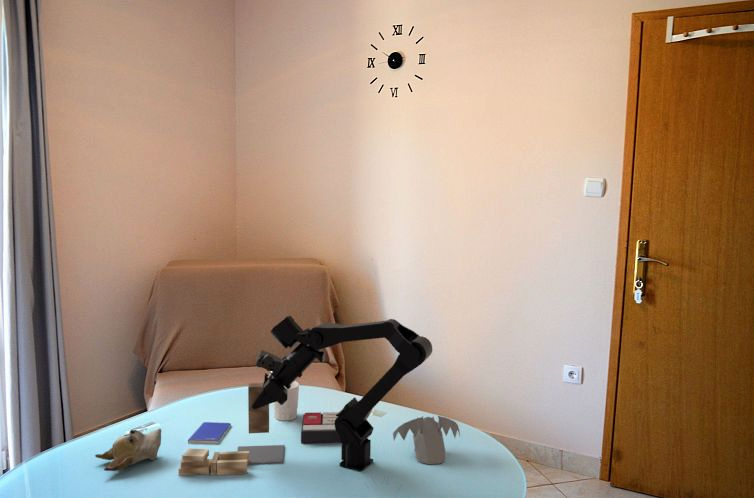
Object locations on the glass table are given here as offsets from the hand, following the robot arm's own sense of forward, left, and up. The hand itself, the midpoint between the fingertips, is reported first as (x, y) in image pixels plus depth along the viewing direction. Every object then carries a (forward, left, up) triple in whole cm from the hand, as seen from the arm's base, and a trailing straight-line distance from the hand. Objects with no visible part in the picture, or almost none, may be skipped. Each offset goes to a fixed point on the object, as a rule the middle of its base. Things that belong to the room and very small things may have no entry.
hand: (253, 405), depth 151 cm
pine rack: (0, +8, -13) cm, 15 cm away
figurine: (-39, -24, -14) cm, 47 cm away
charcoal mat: (-1, -1, -13) cm, 14 cm away
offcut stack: (+7, +13, -13) cm, 20 cm away
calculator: (-7, -22, -14) cm, 27 cm away
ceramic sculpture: (+24, +18, -14) cm, 33 cm away
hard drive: (+20, -5, -14) cm, 25 cm away
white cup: (+9, -26, -14) cm, 31 cm away
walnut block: (-1, -1, -7) cm, 7 cm away
